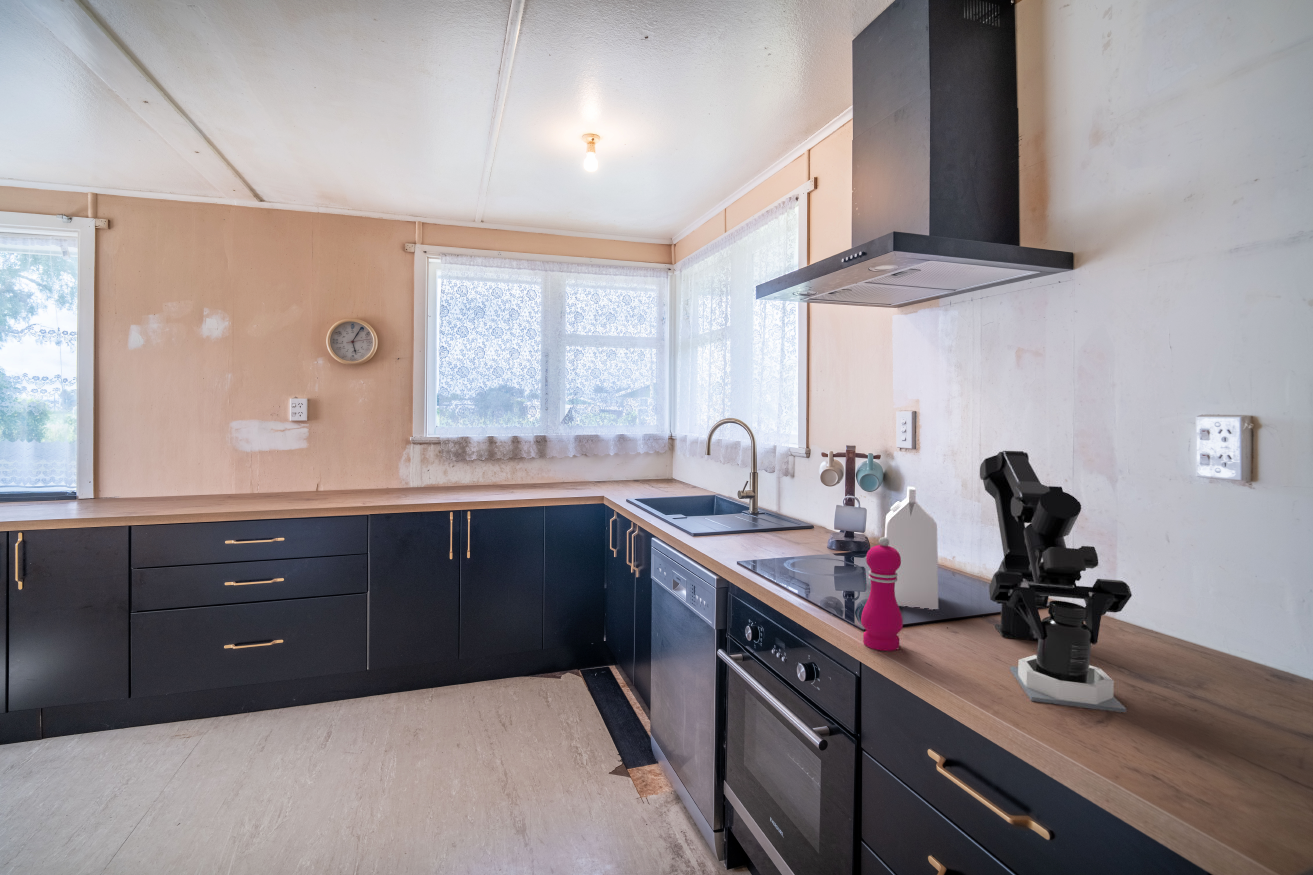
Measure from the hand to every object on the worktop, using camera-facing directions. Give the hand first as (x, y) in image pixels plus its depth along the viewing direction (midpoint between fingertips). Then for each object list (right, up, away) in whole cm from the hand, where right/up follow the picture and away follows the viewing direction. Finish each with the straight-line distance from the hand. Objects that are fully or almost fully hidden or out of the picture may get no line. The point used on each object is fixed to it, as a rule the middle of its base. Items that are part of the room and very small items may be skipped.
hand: (1068, 640), depth 94 cm
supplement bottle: (0, -7, +2) cm, 7 cm away
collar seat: (0, -8, +1) cm, 8 cm away
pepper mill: (-22, -7, +19) cm, 30 cm away
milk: (-4, -7, +49) cm, 49 cm away
